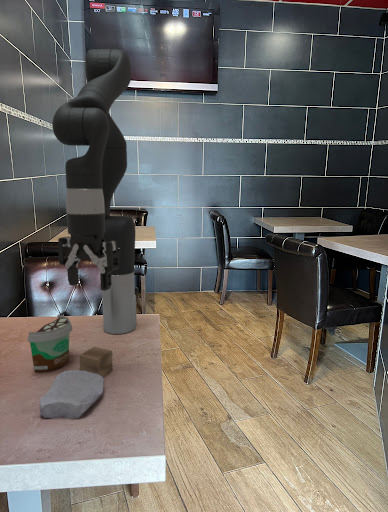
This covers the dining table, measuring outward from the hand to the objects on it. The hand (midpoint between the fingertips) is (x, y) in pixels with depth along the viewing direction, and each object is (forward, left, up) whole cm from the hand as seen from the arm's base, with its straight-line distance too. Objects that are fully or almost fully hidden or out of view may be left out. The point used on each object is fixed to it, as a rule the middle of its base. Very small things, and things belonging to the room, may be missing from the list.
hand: (89, 287), depth 78 cm
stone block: (+10, +4, -21) cm, 23 cm away
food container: (0, -10, -20) cm, 23 cm away
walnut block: (0, +1, -20) cm, 20 cm away
